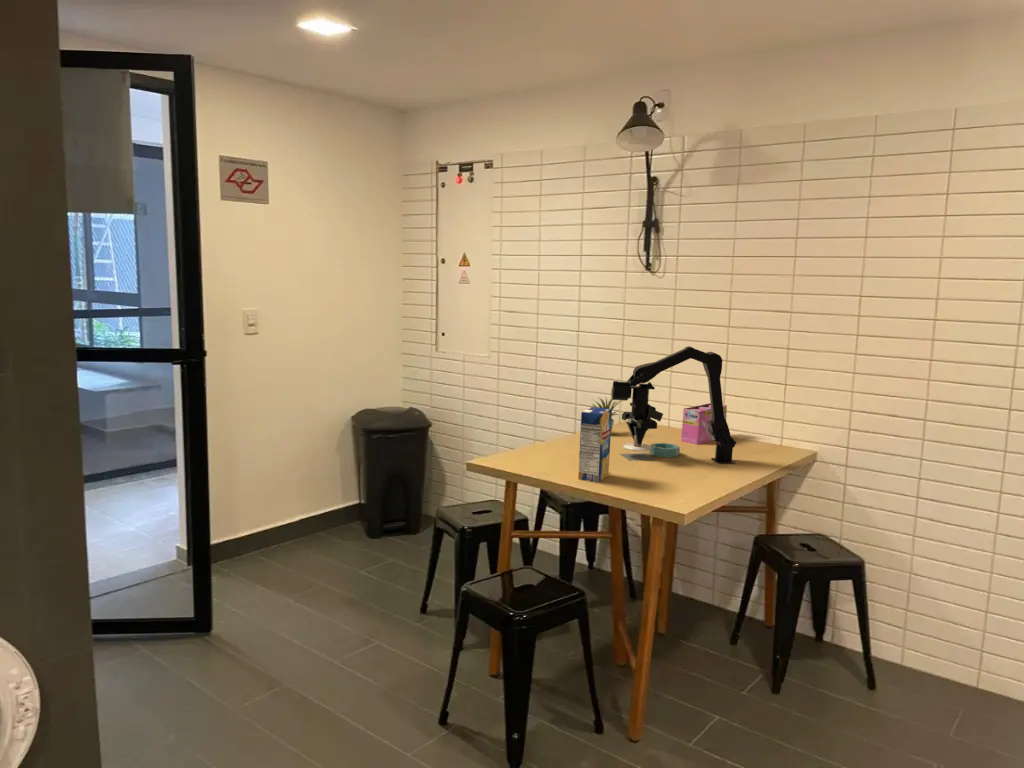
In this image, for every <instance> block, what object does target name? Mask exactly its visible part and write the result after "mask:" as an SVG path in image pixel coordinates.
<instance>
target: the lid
mask: <svg viewBox="0 0 1024 768" xmlns="http://www.w3.org/2000/svg"><path fill="white" fill-rule="evenodd" d="M650 445H651V444H650ZM650 445H649V444H646V443H643V442H642V443H641V445H638V443H637V439H636V435H634V440H633V442H627V443H624V444H623V447H622V448H623V449H624V450H626V451H632V452H639V453H640V452H641V453H644V452H650V450H651V448H652V447H651V446H650Z"/></svg>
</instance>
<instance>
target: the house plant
mask: <svg viewBox="0 0 1024 768" xmlns="http://www.w3.org/2000/svg"><path fill="white" fill-rule="evenodd" d="M591 400H593V401H594V402H595V403H596V404H597V405H598V406H597V405H596V404H594V403H591V405H592V407H597V408H606V409H612V417H613V416H619V414H621V412H620V411H614V412H613V409H614V408H615V407H616V406H617V405H619V404H620V403H621V402H624V401H627V400H612V398H610V399H609V401H608V398H607V396H605V401H604V400H603V399H602V398H601V397H598V400H599V401H600V402H601V404H602V405H601V404H600V403H599V402H598V401H596V400H595V399H591ZM613 401H614V402H613ZM618 413H619V414H618ZM614 422H615V420H614V419H613V418H612V419H611V433H612V432H613V426H614Z"/></svg>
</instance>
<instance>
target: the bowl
mask: <svg viewBox="0 0 1024 768" xmlns="http://www.w3.org/2000/svg"><path fill="white" fill-rule="evenodd" d="M650 446H651V447H652V448H651V450H650V451H649V453H650V455H652V456H654V457H659V458H677V457H678V456H679V455H680V450H681V449H680V448H681V446H679V445H677V444H674V443H668V442H667V443H666V442H654V443H651V444H650Z"/></svg>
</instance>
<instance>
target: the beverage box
mask: <svg viewBox="0 0 1024 768" xmlns="http://www.w3.org/2000/svg"><path fill="white" fill-rule="evenodd" d="M597 407H598V406H597ZM597 407H594V406H592V407H588V408H587V409H585V410H583V411H581V414H580V415H581V416H580V437H579V453H578V478H577V480H579V479H583V480H582V481H586V480H590V481H589V482H593V481H595V483H600V482H601V481H602V480H604V479H605V478H606V477H608V476H609V473H610V457H611V456H610V455H611V453H610V452H611V451H610V450H611V435H612V432H611V419H613V418H612V417H613V416H612V413H613V410H612V409H611V408H609V409H606V408H600V407H598V408H597ZM604 477H605V478H604ZM603 478H604V479H603ZM599 481H600V482H599Z"/></svg>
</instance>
